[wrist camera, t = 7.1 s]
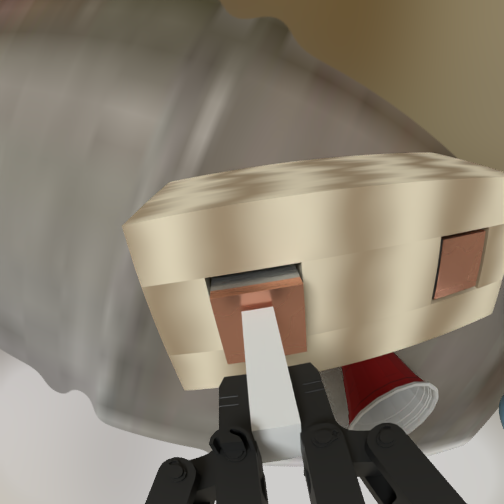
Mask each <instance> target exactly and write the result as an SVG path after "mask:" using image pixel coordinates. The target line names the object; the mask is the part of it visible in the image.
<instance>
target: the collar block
mask: <svg viewBox="0 0 504 504" xmlns="http://www.w3.org/2000/svg"><path fill="white" fill-rule="evenodd" d="M122 228H123V231H124V234H125V238H126V241H127V244H128V248H129V251H130V254H131V257H132V260H133V263H134V266H135V269H136V272H137V275H138V278H139V281H140V284H141V287H142V290H143V292H144V295H145V298H146V301H147V303H148V306H149V309H150V311H151V314H152V316H153V319H154V322H155V324H156V327H157V329H158V332H159V334H160V336H161V339H162V341H163V344H164V346H165V348H166V351H167V353H168V355H169V357H170V360H171V362H172V364H173V366H174V369H175V371H176V373H177V375H178V377H179V379H180V382H181V384H182V386H183V388H184V390H197V389H209V388H219V386H220V384H221V382H222V380H223V378H224V377H228V376H235V375H243V374H246V362H242V363H235V364H227V360H226V357H225V353H224V350H223V346H222V343H221V339H220V336H219V332H218V328H217V325H216V321H215V317H214V314H213V310H212V306H211V302H210V291H211V281H212V277H214V276H221V275H227V274H233V273H240V272H246V271H252V270H258V269H264V268H270V267H276V266H282V265H288V264H295V267H296V269H297V271H298V273H299V275H300V278H301V280H302V282H303V287H304V302H305V319H306V340H307V352H302V353H297V354H291V355H286V356H285V358H286V362H287V367H288V366H293V365H299V364H304V363H308V362H310V363H311V364H312V365H314V366H315V367H316V368H317V369H318V371H323V370H328V369H332V368H336V367H340V366H344V365H348V364H352V363H356V362H360V361H364V360H367V359H371V358H374V357H378V356H381V355H384V354H388V353H391V352H394V351H397V350H401V349H404V348H407V347H410V346H413V345H416V344H418V343H421V342H424V341H427V340H430V339H432V338H435V337H438V336H440V335H443V334H446V333H448V332H451V331H453V330H456V329H458V328H461V327H463V326H465V325H468V324H470V323H472V322H475V321H477V320H479V319H481V318H484V317H486V316H488V315H490V314H492V312H493V309H494V306H495V303H496V300H497V296H498V293H499V289H500V286H501V282H502V278H503V274H504V172H502V171H499V170H496V169H493V168H489V167H486V166H483V165H479V164H476V163H472V162H468V161H465V160H461V159H457V158H453V157H449V156H444V155H440V154H436V153H394V154H374V155H358V156H345V157H333V158H323V159H313V160H304V161H295V162H287V163H279V164H271V165H264V166H257V167H251V168H244V169H238V170H232V171H226V172H220V173H214V174H209V175H203V176H198V177H193V178H188V179H183V180H178V181H173V182H169V183H168V184H167V185H166V186H164V187H163V188H162V189H161V190H160V191H159V192H158V193H157V194H155V195H154V196H153V197H152V198H151V199H150V200H149V201H148V202H147V203H146V204H145V205H143V206H142V207H141V208H140V209H139V210H138V211H137V212H136V213H135V214H134V215H133V216H132V217H131V218H130V219H129V220H128V221H127V222H126V223H125V224H124V225H123V226H122ZM477 229H483V230H485V231H486V233H485V240H484V246H483V252H482V257H481V262H480V267H479V272H478V276H477V281H476V285H475V286H474V287H471V288H468V289H465V290H462V291H459V292H456V293H453V294H450V295H447V296H444V297H441V298H438V299H435V300H434V299H433V298H432V295H433V289H434V284H435V278H436V272H437V266H438V259H439V251H440V243H441V237H442V236H447V235H452V234H457V233H462V232H467V231H472V230H477Z"/></svg>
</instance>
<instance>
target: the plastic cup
mask: <svg viewBox="0 0 504 504" xmlns="http://www.w3.org/2000/svg"><path fill="white" fill-rule="evenodd" d="M342 371H343V376H344V379H343V381H344V386H345V392H346V398H347V404H348V411H349V415H348V416H349V429H348V430H355V431H366V430H371V429H372V428H374V427H375V426H376V425H379V424H381V423H393V424H397V425H398V426H399V427H401V428H402V429H403V430H404V431H405V433H406V434H409V433H410V432H412V431H413V430H414V429H416V428H417V427H418V426H419V425H421V424H422V423H423V422H424V421H425V420H426V418H427V417H428V416H429V415H430V414H431V412H432V411H433V410H434V407H435V405H436V403H437V401H438V399H439V398H438V389H437V388H436V387H435V386H433V385H432V384H431V383H429V382H425V381H423V380H422V379H420V378H419V377H418V376H416V375H415V374H414V373H413V372H412V371H411V370H410V369H409V368H408V367H407V366H406V365H405V364H404V363H403V362H402V361H401V360H400V359H399V358H398V356H397V355H396V354H395V353H393V352H391V353H388V354H384V355H381V356H378V357H374V358H371V359H367V360H364V361H360V362H356V363H352V364H348V365H344V366H342Z"/></svg>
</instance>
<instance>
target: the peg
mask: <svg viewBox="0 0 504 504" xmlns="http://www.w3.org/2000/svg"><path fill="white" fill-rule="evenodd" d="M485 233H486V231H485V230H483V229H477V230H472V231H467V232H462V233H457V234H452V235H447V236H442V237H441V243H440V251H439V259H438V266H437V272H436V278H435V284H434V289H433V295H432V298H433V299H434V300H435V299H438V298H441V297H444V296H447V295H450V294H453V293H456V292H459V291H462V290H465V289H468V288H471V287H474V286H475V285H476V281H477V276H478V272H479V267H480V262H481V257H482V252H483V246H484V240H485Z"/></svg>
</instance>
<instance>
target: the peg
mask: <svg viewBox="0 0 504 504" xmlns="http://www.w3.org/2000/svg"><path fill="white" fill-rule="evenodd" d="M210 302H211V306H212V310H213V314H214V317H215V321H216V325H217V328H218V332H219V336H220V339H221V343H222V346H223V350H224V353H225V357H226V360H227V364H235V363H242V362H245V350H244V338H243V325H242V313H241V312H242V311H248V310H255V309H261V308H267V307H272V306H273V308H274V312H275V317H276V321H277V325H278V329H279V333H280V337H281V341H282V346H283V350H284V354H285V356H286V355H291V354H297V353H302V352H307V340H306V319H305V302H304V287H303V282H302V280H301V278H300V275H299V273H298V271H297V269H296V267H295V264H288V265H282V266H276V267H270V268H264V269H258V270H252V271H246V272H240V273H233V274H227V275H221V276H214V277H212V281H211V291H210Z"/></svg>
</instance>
